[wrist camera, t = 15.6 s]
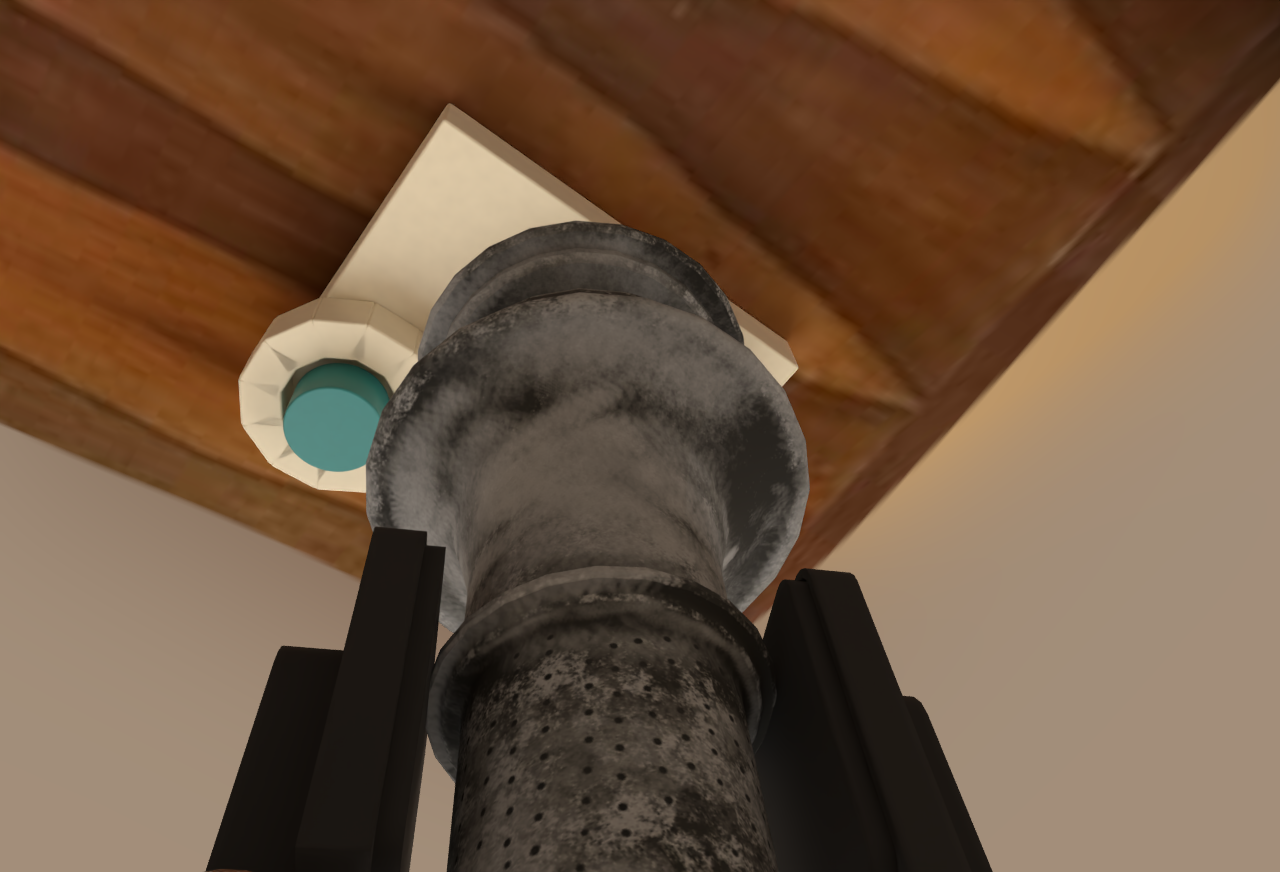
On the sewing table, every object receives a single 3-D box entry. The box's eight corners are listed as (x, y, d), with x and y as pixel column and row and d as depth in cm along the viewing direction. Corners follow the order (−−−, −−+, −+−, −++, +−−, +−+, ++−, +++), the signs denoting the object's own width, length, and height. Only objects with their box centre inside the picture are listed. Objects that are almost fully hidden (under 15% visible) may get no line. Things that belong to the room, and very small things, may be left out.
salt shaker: (322, 390, 17) (-33, 1290, 7) (570, 117, 15) (608, 783, 5) (593, 582, 19) (641, 1467, 9) (838, 366, 17) (1252, 1174, 7)
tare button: (276, 414, 31) (264, 441, 30) (323, 344, 30) (313, 369, 29) (360, 460, 32) (352, 488, 31) (409, 394, 31) (402, 420, 30)
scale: (234, 375, 34) (204, 431, 31) (423, 82, 30) (409, 114, 27) (584, 569, 39) (588, 633, 36) (788, 341, 35) (811, 392, 32)
